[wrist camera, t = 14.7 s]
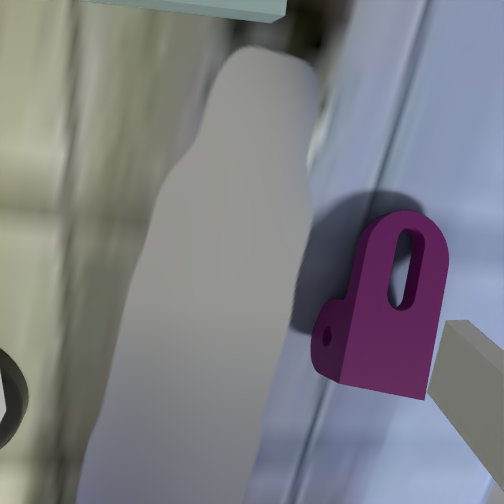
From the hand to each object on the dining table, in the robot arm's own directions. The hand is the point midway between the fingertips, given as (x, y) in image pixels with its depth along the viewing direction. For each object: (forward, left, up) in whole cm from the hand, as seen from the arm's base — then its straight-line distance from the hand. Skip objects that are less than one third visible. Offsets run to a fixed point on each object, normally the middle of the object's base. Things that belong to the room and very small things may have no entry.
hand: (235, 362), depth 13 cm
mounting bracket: (+20, -12, -32) cm, 39 cm away
